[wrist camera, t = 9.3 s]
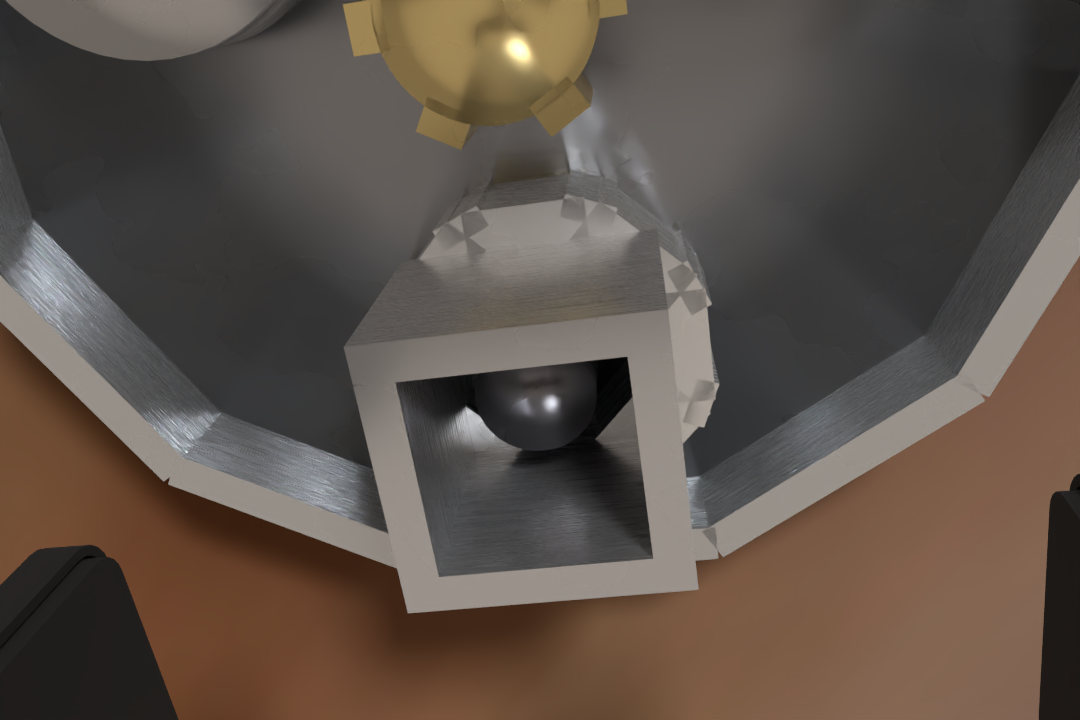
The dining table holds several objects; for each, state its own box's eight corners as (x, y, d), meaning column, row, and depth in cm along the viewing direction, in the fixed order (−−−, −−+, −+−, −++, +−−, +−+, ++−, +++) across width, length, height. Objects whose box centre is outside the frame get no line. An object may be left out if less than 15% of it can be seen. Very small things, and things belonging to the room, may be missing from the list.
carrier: (1149, -953, 13) (1413, -1397, 9) (1074, 442, 21) (1195, 575, 17) (-248, -589, 16) (-581, -794, 12) (144, 532, 24) (35, 667, 19)
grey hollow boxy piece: (692, 152, 18) (724, 243, 13) (719, 443, 20) (756, 629, 15) (374, 195, 19) (274, 298, 13) (434, 471, 21) (369, 658, 16)
